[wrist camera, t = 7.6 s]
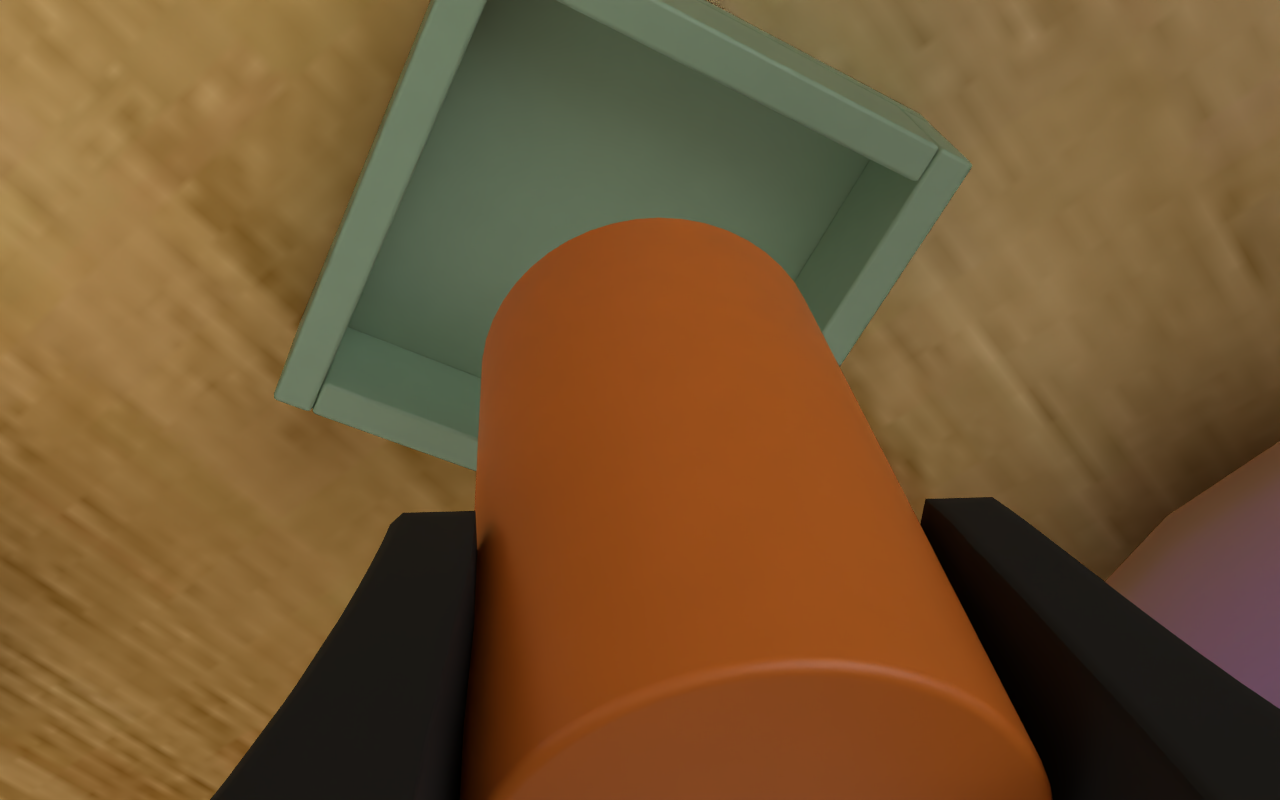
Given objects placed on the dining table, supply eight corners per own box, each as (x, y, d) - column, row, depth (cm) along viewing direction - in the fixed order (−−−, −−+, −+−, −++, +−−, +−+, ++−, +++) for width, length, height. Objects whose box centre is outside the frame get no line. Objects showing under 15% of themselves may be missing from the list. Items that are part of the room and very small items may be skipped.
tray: (921, 114, 18) (975, 165, 16) (694, 475, 21) (714, 558, 19) (479, -121, 16) (473, -97, 14) (298, 324, 19) (271, 400, 17)
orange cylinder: (836, 214, 13) (1127, 650, 7) (797, 505, 15) (994, 1041, 9) (475, 214, 12) (436, 677, 6) (486, 514, 14) (467, 1083, 8)
